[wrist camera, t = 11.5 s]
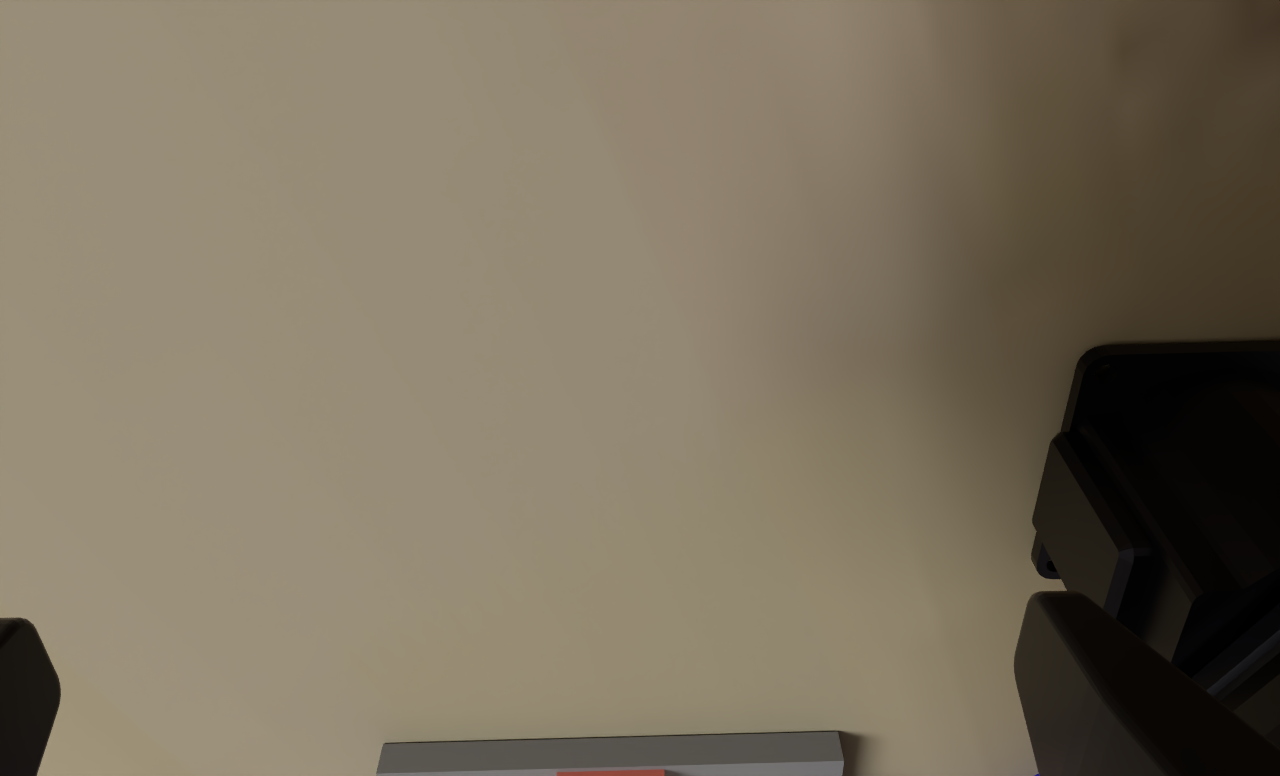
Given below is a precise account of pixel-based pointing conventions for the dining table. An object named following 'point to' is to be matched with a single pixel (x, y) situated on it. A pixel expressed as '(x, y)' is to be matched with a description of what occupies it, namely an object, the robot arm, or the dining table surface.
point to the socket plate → (623, 756)
